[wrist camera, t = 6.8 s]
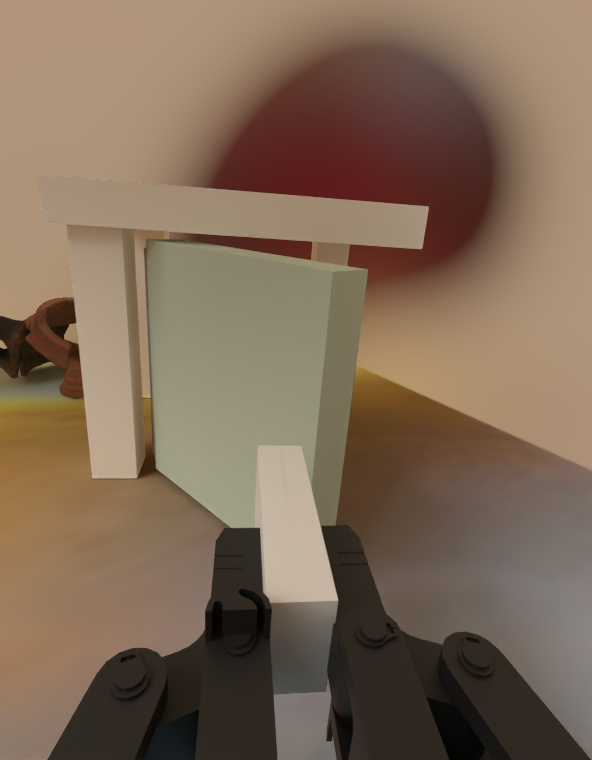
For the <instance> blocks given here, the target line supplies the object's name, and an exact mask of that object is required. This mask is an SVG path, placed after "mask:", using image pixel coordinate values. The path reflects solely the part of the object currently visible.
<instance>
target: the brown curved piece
mask: <svg viewBox="0 0 592 760" xmlns="http://www.w3.org/2000/svg"><path fill="white" fill-rule="evenodd" d="M74 323H76V314H75V304H74V298H55V299H52V300H49V301H47V302H44V303H43V304H42V305H41V306H40V307H39V308H38V309H37V311H36V313H35V314H33V315H32V316H30V317H28V318H27V319H25V320H23V321H18V320H13V319H9V318H7V317H3V316H0V340H2V341H3V342H4V343H5V345H6V346H7V349H2V348H0V367H1V368H2V369H4V370H5V371H6V372H7V373H8V374H9V376H10V377H11V378H13V379H15V378H18V377H19V376H18V372H19V367H20V373H21V375H22V376H26V375H27V374H28V372H29V371H31V370H32V369H33V368H35V367H37V366H40V365H42V364H44V363H47V362H52V363H54V364H55V365H57V366H59V367H61V368H62V369H65V370H66V372H65V378H64V382H63V384H62V385H61V386H60V392H61V394H62V395H63V396H67V397H71V398H74V399H79V398H81V397H82V396H83V395H84V392H83V382H82V373H81V363H80V353H79V344H76V343H72V342H71V341H67V340H65V339H64V334H65V332H66V330H67V328H68V327H69V324H74Z"/></svg>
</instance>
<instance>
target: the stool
mask: <svg viewBox="0 0 592 760" xmlns="http://www.w3.org/2000/svg"><path fill="white" fill-rule="evenodd" d="M37 180H38V189H39V197H40V205H41V214H42V222H43V223H56V224H66V226H67V236H68V245H69V255H70V265H71V275H72V285H73V294H74V304H75V314H76V324H77V333H78V343H79V353H80V363H81V373H82V382H83V392H84V402H85V412H86V421H87V431H88V441H89V451H90V460H91V470H92V478H137V477H138V475H139V472H140V470H141V467H142V465H143V462H144V459H145V457H146V453H145V434H144V415H143V398H151V394H150V373H149V351H148V329H147V307H146V285H145V263H144V248H146V239H169V231H172V232H184V233H199V234H213V235H228V236H242V237H257V238H270V239H285V240H299V241H300V240H301V241H313V246H312V257H311V261H317V262H323V263H330V264H336V265H342V266H347V261H348V252H349V244H357V245H372V246H385V247H386V246H387V247H401V248H414V249H422V246H423V239H424V233H425V227H426V221H427V215H428V209H429V207H426V206H414V205H402V204H390V203H378V202H366V201H353V200H342V199H329V198H318V197H306V196H294V195H282V194H270V193H257V192H246V191H233V190H220V189H208V188H197V187H185V186H173V185H161V184H149V183H137V182H124V181H113V180H100V179H89V178H77V177H64V176H52V175H41V174H37Z"/></svg>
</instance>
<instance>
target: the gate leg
mask: <svg viewBox="0 0 592 760" xmlns="http://www.w3.org/2000/svg"><path fill="white" fill-rule="evenodd" d="M144 263H145V285H146V307H147V329H148V351H149V373H150V394H151V416H152V438H153V456H154V457H155V458H156V469H157V470H159V471H160V472H161V473H162V474H164V475H165V476H166V477H167V478H169V479H170V480H171V481H172V482H174V483H175V484H176V485H178V486H179V487H180V488H181V489H183V490H184V491H185V492H186V493H188V494H189V495H190V496H191V497H193V498H194V499H195V500H197V501H198V502H199V503H200V504H202V505H203V506H204V507H205V508H207V509H208V510H209V511H210V512H212V513H213V514H214V515H215V516H217V517H218V518H219V519H221V520H222V521H223V522H224V523H226V524H227V525H228V526H229V527H231V528H255V495H256V473H257V452H258V445H275V446H301V447H302V451H303V455H304V459H305V464H306V468H307V472H308V476H309V480H310V485H311V489H312V493H313V497H314V501H315V505H316V510H317V514H318V518H319V522H320V526H336V520H337V512H338V504H339V496H340V488H341V480H342V472H343V464H344V456H345V448H346V440H347V432H348V424H349V416H350V408H351V401H352V393H353V385H354V377H355V369H356V361H357V353H358V344H359V337H360V329H361V321H362V313H363V305H364V297H365V289H366V282H367V274H368V270H367V269H360V268H354V267H348V266H342V265H336V264H330V263H323V262H317V261H311V260H304V259H299V258H292V257H286V256H280V255H274V254H268V253H260V252H255V251H249V250H243V249H237V248H230V247H224V246H218V245H212V244H206V243H200V242H193V241H186V240H180V239H146V248H144Z"/></svg>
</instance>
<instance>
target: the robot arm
mask: <svg viewBox="0 0 592 760" xmlns="http://www.w3.org/2000/svg"><path fill="white" fill-rule="evenodd" d="M328 679H329V685H330V691H331V696H332V698H331V705H330V712H329V719H328V726H327V741H332V735H333V739H334V745H335V751H336V757H337V760H591V759H590V758H589V757H588V756H587V754H586V753H585V752H584V751H583V750H582V748H581V747H580V746H579V745H578V744H577V742H576V741H575V740H574V739H573V738H572V736H571V735H570V734H569V733H568V732H567V730H566V729H565V728H564V727H563V726H562V725H561V723H560V722H559V721H558V720H557V719H556V717H555V716H554V715H553V714H552V713H551V711H550V710H549V709H548V708H547V707H546V705H545V704H544V703H543V702H542V701H541V699H540V698H539V697H538V696H537V695H536V693H535V692H534V691H533V690H532V689H531V687H530V686H529V685H528V684H527V683H526V681H525V680H524V679H523V678H522V677H521V675H520V674H519V673H518V672H517V671H516V669H515V668H514V667H513V666H512V665H511V663H510V662H509V661H508V660H507V659H506V657H505V656H504V655H503V654H502V653H501V652H500V651H499V650H498V649H497V648H496V647H495V646H494V645H493V644H492V643H491V642H490V641H488V640H486V639H484V638H482V637H481V636H479V635H476V634H472V633H468V632H456V633H453V634H451V635H450V636H448V637H446V639H445V641H444V643H443V645H441V644H437V643H433V642H429V641H426V640H422V639H418V638H415V637H413V636H410V635H408V634H406V633H405V632H403V631H401V630H400V628H399V626H398V625H397V623H396V622H395V621H394V620H393V619H392V618H390V617H389V616H388V615H387V614H386V612H385V610H384V608H383V605H382V602H381V599H380V596H379V594H378V591H377V588H376V585H375V582H374V579H373V576H372V574H371V571H370V568H369V566H368V562H367V559H366V556H365V554H364V551H363V548H362V545H361V542H360V539H359V537H358V536H357V535H356V534H355V533H354V532H353V531H352V530H351V528H350V527H349V526H348V525H341V526H320V522H319V518H318V514H317V510H316V505H315V501H314V497H313V493H312V489H311V485H310V480H309V476H308V472H307V468H306V464H305V459H304V455H303V451H302V447H301V446H275V445H258V452H257V473H256V495H255V528H224V530H223V531H222V533H221V534H220V536H219V537H218V539H217V540H216V546H215V559H214V570H213V580H212V592H211V599H210V600H209V602H208V605H207V608H206V611H205V631H204V633H203V634H202V635H201V636H200V637H199V639H198V640H197V641H195V642H194V643H193V644H191V645H190V646H189V647H187V648H185V649H183V650H181V651H178V652H176V653H173V654H170V655H167V656H164V657H161V656H160V655H159V654H158V653H157V652H155V651H152V650H150V649H147V648H132V649H129V650H126V651H123V652H120V653H118V654H117V655H115V656H114V657H112V658H111V659H110V660H108V661H107V662H106V663H105V664H104V665H103V667H102V668H101V669H100V670H99V672H98V673H97V674H96V676H95V678H94V680H93V681H92V683H91V685H90V686H89V688H88V690H87V692H86V693H85V695H84V697H83V699H82V700H81V702H80V704H79V706H78V707H77V709H76V711H75V713H74V714H73V716H72V718H71V720H70V721H69V723H68V725H67V727H66V728H65V730H64V732H63V733H62V735H61V737H60V739H59V740H58V742H57V744H56V746H55V747H54V749H53V751H52V753H51V754H50V756H49V758H48V760H277V746H276V729H275V713H274V697H273V694H289V693H306V692H322V691H326V687H327V680H328Z"/></svg>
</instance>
